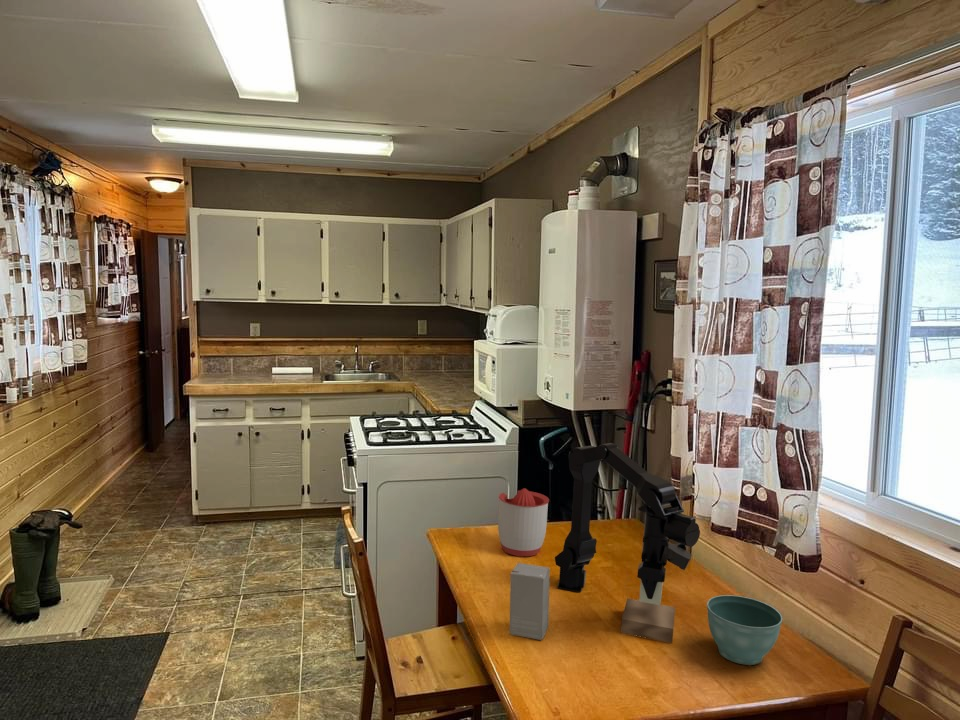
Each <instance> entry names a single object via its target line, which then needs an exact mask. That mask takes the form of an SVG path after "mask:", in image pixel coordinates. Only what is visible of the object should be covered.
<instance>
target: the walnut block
mask: <svg viewBox="0 0 960 720" xmlns="http://www.w3.org/2000/svg"><path fill="white" fill-rule="evenodd" d="M675 615H676V607H675V606H671V605H664V604H660V605H656V604H650V603H645V602H640V601H639V599H633V598H626V601H625V605H624V609H623V614H622V617H621V627H620V628H621V629H620V634H623V633H625V634H624V635H628V634H631V635H630V636H633V635H637V636H636V637H638V636H641V637H640V638H643V637H646V638H645V639H648V638H651V639H650V640H652V639H655V640H654V641H657V640H659V641H658V642H662V641H663V643H667V642H668V644H673V639H674V630H675V619H676V618H675Z"/></svg>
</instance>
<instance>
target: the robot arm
mask: <svg viewBox="0 0 960 720" xmlns="http://www.w3.org/2000/svg"><path fill="white" fill-rule="evenodd" d="M602 461H604V462H605V463H606V464H607V465H609V466H610V467H611V468H612V469H613V470H615V471H616V472H617V474H619V475H620V476H622V477H623V478H624V479H625V480H626V481H627V482H629V483H630V484H631V485H633V487H634V488H635V489H636V493H637V495H638V496H639V499H641V500H642V501H643V502H644V503H643V504H642V505H641V506H639V507H638V512H639V511H640V512H642V513H645V516H644V517H645V518H644V528H643V529H644V530H643V537H642V551H641V562H640V563H639V564H638V568H637V575H636V576H637V578H638V579H640V582H641V581H642V584H643V586H644V589H645V592H646V595H647V598H648V599H652V598H653V595H654V592H655V589H656V586H657V583H658V582H663V583H665V580H666V565H667V564H668V562H669V564H673V565H674V566H677V567H678V568H679V569H680V570H681V571H682V570H683V571H685V570H686V568H687V566H688V565H689V563H690V562H691V560H692V559H691V558H692V553H690V551H689V550H687V547H689V548H691V547H694V546H695V545H696V544H697V543H698V541H699V538H700V537H701V536H700V535H701V530H700V526H699V524H698V523H697V522H696V521H697V518H696V517H695V516H692V515H686V514H684V512H685V509H684V508H683V506H682V504H681V502H680V500H679V497H678V494H677V493H676V487H675V485H674V484H673V483H671V482H670V481H668V480H666V479H664V478H663V477H662V476H658V475H656V474H653V473H650V472H648V471H647V470H645V468H643V467H642V466H641V465H640V464H638V463H637V462H636V461H634V460H633V459H632V458H631V457H629V455H627V454H626V453H625V452H623V451H622V450H621V449H619V446H618V445H616V444H615V443H613V442H610V443H602V444H599V445H598V446H594V445H586V446H581V447H580V446H579V447H574V448H572V449H571V451H569V452H568V469H569V472H570V473H571V476H572V478H573V494H572V507H571V508H572V509H571V524H570V531H569V532H568V534H567V536H566V538H564V543H563V546H562V547H563V548H562V551H561V552H559V553H558V554H557V555H555V556H554V562H555V565H556V566H558V567H559V577H558V584H557V586H556V587H557V589H559V590H564V591H565V590H566V591H571V592H574V593H575V592H576V593H581V592H582V590H583V589H584V587H585V585H586V576H587V574H586V573H587V570H586V569H585V566H587V565H590V562H591V561H592V559H593V558H594V557H595V554H597V542H598V541H597V538H593V536H592V534H591V532H590V524H591V523H590V522H591V511H592V510H591V508H592V494H593V493H592V492H593V481H594V478H595V476H597V473H598V471H599V469H600V464H601V462H602ZM669 505H670V506H669ZM667 506H668V507H667ZM663 507H664V508H663ZM670 541H674V542H676V543H671V542H670Z"/></svg>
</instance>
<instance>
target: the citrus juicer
mask: <svg viewBox="0 0 960 720" xmlns="http://www.w3.org/2000/svg"><path fill="white" fill-rule="evenodd" d="M498 499H499V504H498V505H499V506H498V518H497V519H498V520H497V521H498V522H497V529H498V537H499V543H500V546H501V550H503V552H505V553H506V554H509V555H512V556H515V557H518V558H519V557H532V556H535V555H538V554H539V553H540V551H541V550H542V547H543V543H544V541H545V537H546V534H547V533H546V531H547V525H548V524H547V522H548V509H549V508H548V507H549V502H550V499H549V497H548V496H546V495H544V494H542V493H539V492H534V491H530V490H529V489H527V488H525V487H524V488H522V489H520V490H517V493H516V494H515V495H514V497H512V498H508V495H507V493H504V492H502V493H500V494H499V496H498Z"/></svg>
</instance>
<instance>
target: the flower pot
mask: <svg viewBox="0 0 960 720" xmlns="http://www.w3.org/2000/svg"><path fill="white" fill-rule="evenodd" d="M706 608H707V621H708V627H709V631H710V633H711V636H712V638H713V640H714V642H715V644H716V646H717V648H718V649H717V650H718V653H719V654H720V656H722V657H723V658H724V659H726V660H727V661H730V662H733V663H736V664H740V665H744V666H752V665H758V664H760V663H762V661H763V658H764V657H765V656H766V655H767V654H768V653H769V652H770V651H771V650H772V648H773V647H774V646H775V644H776V642H777V640H778V637H779V634H780V630H781V626H782V623H783V616H782V614H781V613H780V612H779V611H778V610H777V608H775V607H773V606H772V605H770V604H769V603H766V602H763V601H760V600H758V599H756V598H750V597H745V596H740V595H735V594H733V595H729V594H728V595H727V594H726V595H725V594H723V595H716V596H713V597H711V598H709V600H708V601H707V603H706Z"/></svg>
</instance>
